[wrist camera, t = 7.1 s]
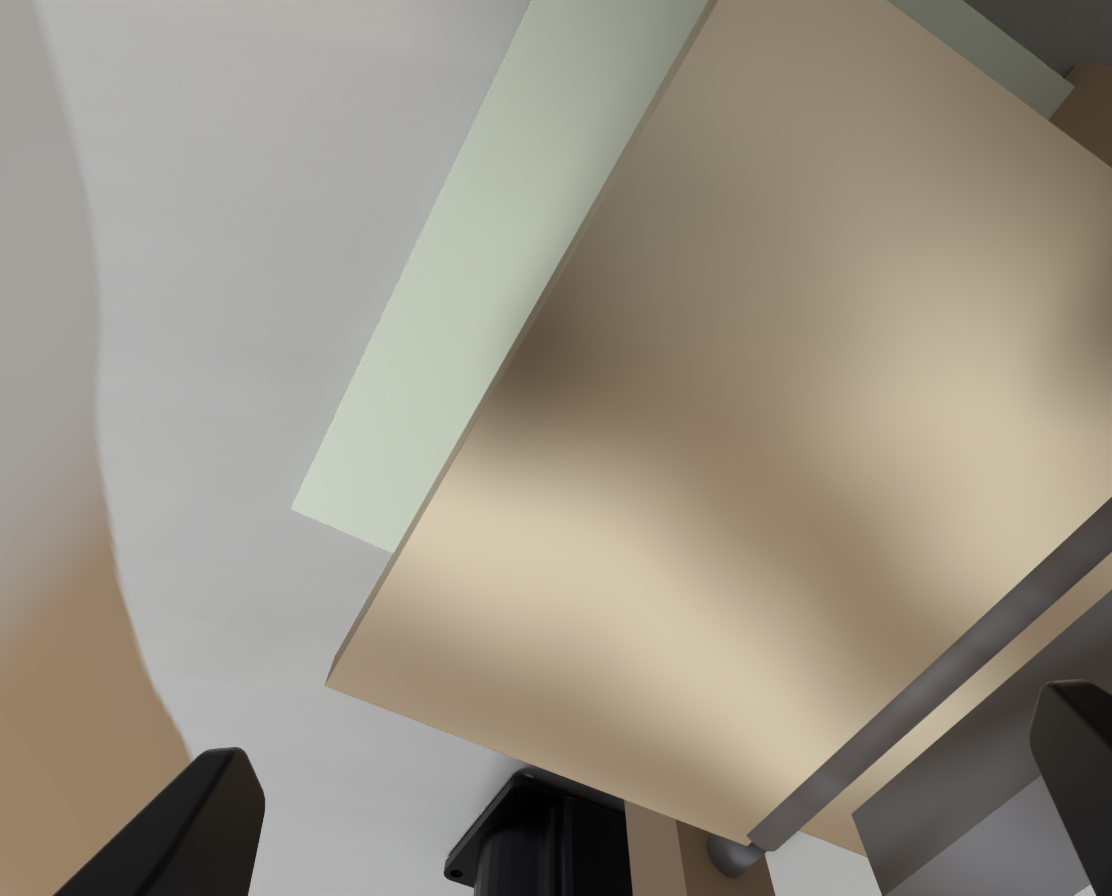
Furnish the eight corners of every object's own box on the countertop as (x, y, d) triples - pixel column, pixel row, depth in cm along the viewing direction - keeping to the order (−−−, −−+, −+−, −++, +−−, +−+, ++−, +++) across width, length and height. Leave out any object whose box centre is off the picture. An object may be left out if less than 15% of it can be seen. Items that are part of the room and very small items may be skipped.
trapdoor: (884, 863, 19) (934, 988, 16) (337, 649, 15) (295, 765, 13) (1433, 426, 13) (1638, 517, 11) (749, -77, 10) (816, -116, 7)
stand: (704, 689, 26) (773, 990, 18) (290, 510, 23) (138, 783, 14) (1190, 152, 18) (1740, 251, 10) (656, -264, 14) (797, -680, 6)
